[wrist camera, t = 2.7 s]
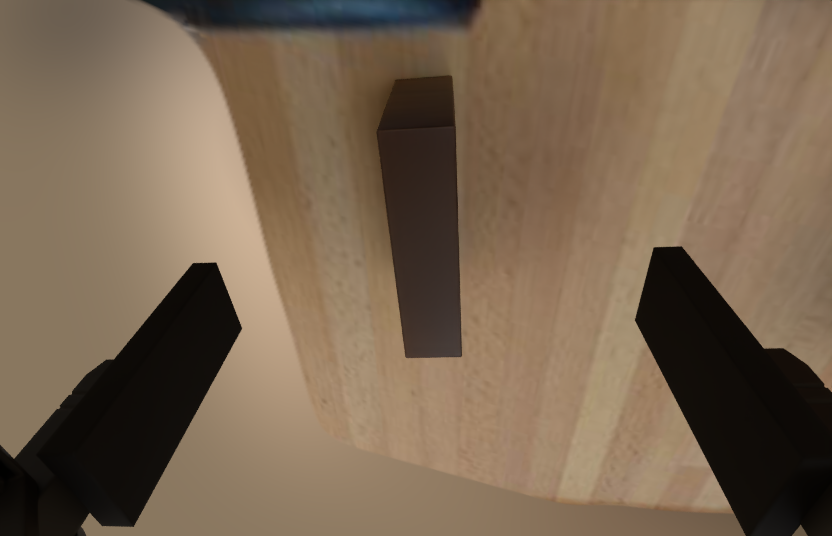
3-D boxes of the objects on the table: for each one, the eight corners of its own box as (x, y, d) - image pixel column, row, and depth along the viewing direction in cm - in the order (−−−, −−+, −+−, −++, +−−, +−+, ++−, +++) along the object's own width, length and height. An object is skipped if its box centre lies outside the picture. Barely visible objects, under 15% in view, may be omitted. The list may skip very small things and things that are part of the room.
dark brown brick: (413, 269, 23) (405, 358, 18) (395, 79, 17) (376, 130, 13) (458, 268, 22) (462, 357, 18) (452, 75, 17) (455, 125, 12)
